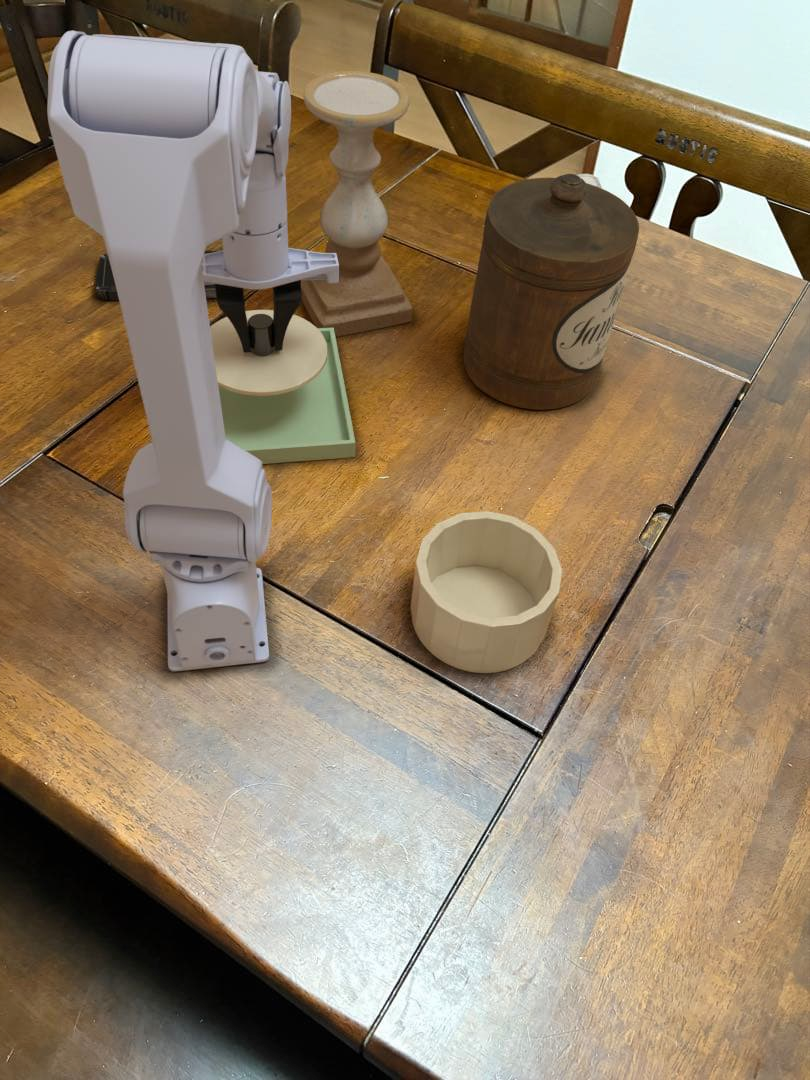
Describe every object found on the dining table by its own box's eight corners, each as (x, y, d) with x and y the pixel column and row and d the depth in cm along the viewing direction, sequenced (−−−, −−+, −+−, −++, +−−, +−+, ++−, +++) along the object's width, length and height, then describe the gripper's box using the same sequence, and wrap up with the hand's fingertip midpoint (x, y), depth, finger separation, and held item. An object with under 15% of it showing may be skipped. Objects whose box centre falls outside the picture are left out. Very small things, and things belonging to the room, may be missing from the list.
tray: (355, 457, 90) (355, 442, 88) (188, 469, 87) (186, 454, 86) (333, 342, 101) (333, 327, 99) (185, 350, 98) (183, 335, 97)
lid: (334, 396, 87) (334, 359, 83) (199, 405, 85) (194, 368, 82) (320, 315, 95) (319, 279, 91) (196, 321, 93) (191, 284, 89)
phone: (100, 252, 107) (230, 250, 109) (102, 260, 108) (231, 258, 110) (94, 292, 102) (230, 289, 104) (96, 301, 103) (231, 298, 105)
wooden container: (582, 426, 95) (637, 237, 78) (446, 389, 97) (470, 197, 80) (608, 343, 104) (663, 158, 87) (484, 311, 106) (513, 124, 89)
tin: (561, 665, 76) (579, 617, 70) (424, 680, 74) (431, 633, 69) (526, 556, 83) (540, 506, 78) (401, 568, 81) (406, 517, 76)
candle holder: (413, 321, 104) (431, 112, 86) (322, 339, 101) (320, 126, 83) (379, 268, 110) (389, 63, 92) (292, 283, 107) (284, 74, 89)
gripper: (332, 190, 82) (332, 315, 92) (166, 195, 79) (185, 323, 90) (342, 234, 77) (340, 360, 88) (166, 240, 75) (186, 369, 85)
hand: (262, 345), depth 89 cm, fingers closed on lid, 2 cm apart
